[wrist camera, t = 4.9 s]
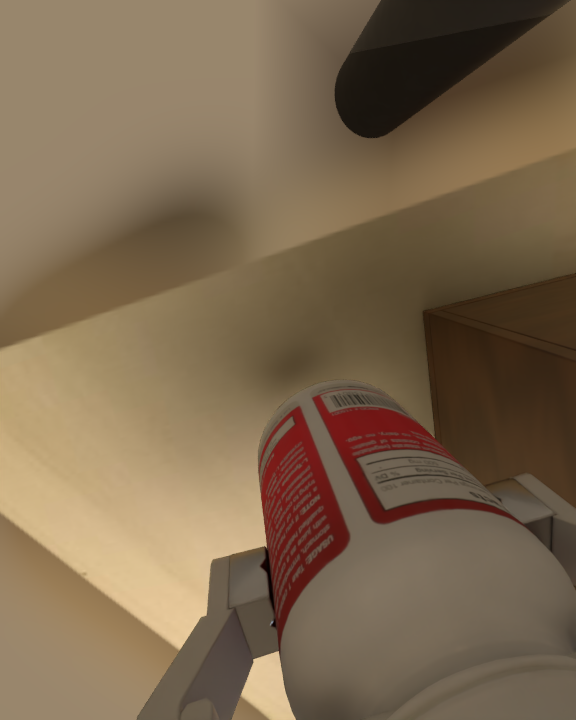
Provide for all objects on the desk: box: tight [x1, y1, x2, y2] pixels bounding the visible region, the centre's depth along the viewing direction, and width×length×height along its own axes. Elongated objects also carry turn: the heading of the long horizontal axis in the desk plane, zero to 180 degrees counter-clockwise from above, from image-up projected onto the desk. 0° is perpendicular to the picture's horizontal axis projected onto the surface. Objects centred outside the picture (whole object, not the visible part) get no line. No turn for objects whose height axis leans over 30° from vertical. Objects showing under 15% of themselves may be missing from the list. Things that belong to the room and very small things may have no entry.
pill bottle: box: [258, 380, 576, 720], centre depth 10 cm, size 6×6×11 cm
